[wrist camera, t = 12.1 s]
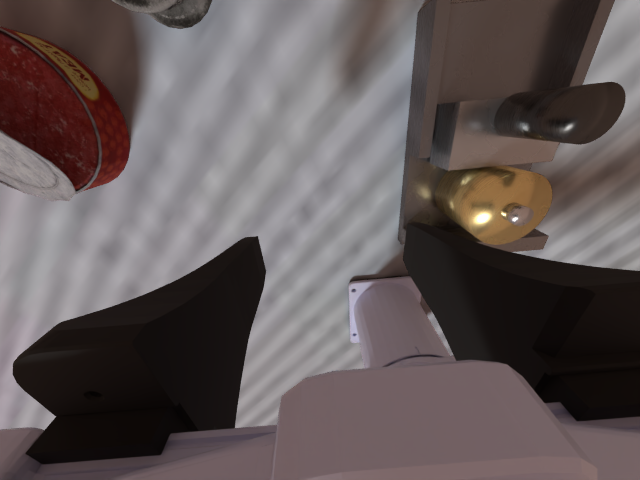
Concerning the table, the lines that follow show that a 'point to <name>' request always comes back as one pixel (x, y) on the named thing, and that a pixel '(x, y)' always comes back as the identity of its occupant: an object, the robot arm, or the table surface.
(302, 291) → the table surface
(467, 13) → the press frame
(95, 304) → the table surface
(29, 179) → the canned food
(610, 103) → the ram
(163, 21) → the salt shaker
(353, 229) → the table surface
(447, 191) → the gold bell
